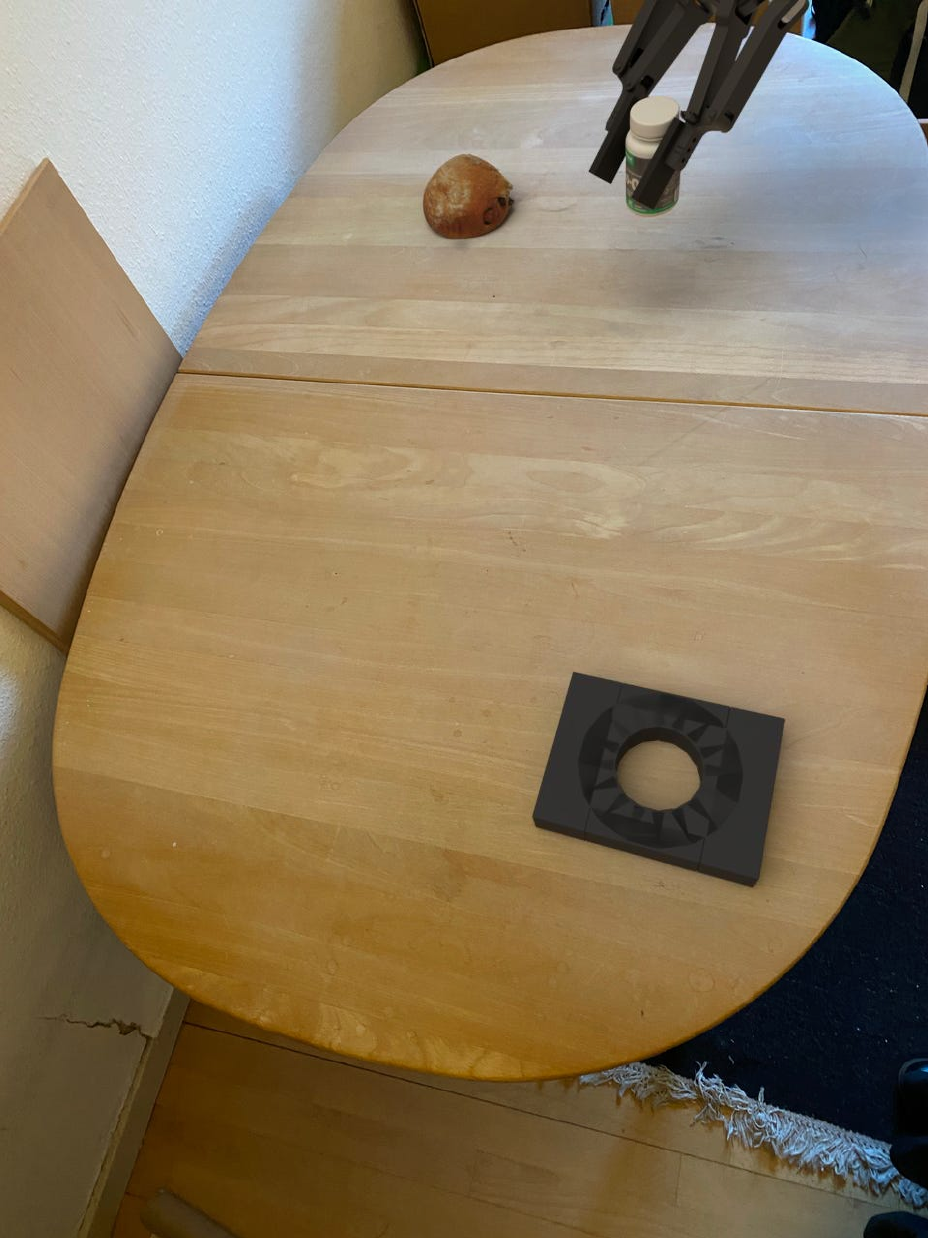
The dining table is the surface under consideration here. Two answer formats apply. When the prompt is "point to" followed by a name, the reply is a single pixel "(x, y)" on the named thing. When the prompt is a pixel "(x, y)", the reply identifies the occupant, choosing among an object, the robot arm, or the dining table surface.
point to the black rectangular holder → (684, 836)
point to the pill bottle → (649, 151)
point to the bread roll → (466, 198)
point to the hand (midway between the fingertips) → (620, 189)
